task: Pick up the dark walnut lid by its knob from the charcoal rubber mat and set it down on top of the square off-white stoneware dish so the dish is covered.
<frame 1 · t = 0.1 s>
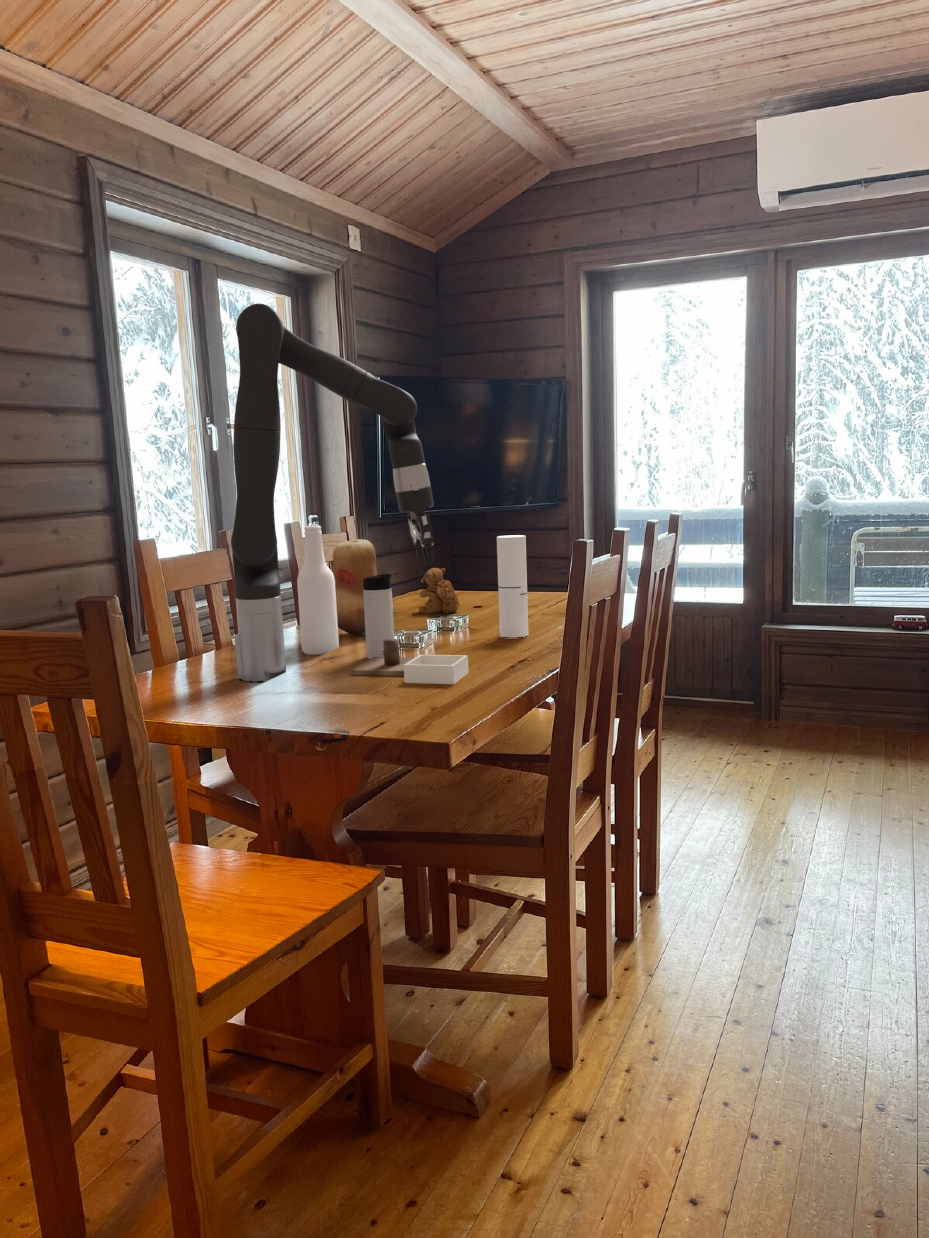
hand: (426, 562, 199), 22 cm above the table, tool pointing down, fingers open, 8 cm apart
alcohol: (320, 652, 222), on the table
lid: (392, 668, 192), point 1 cm above the table, touching mat
travel mug: (382, 663, 206), on the table
stuffed squirrel: (441, 612, 277), on the table
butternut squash: (359, 636, 242), on the table
dish: (437, 684, 182), on the table
cylindrical container: (514, 636, 233), on the table
mat: (392, 675, 192), on the table
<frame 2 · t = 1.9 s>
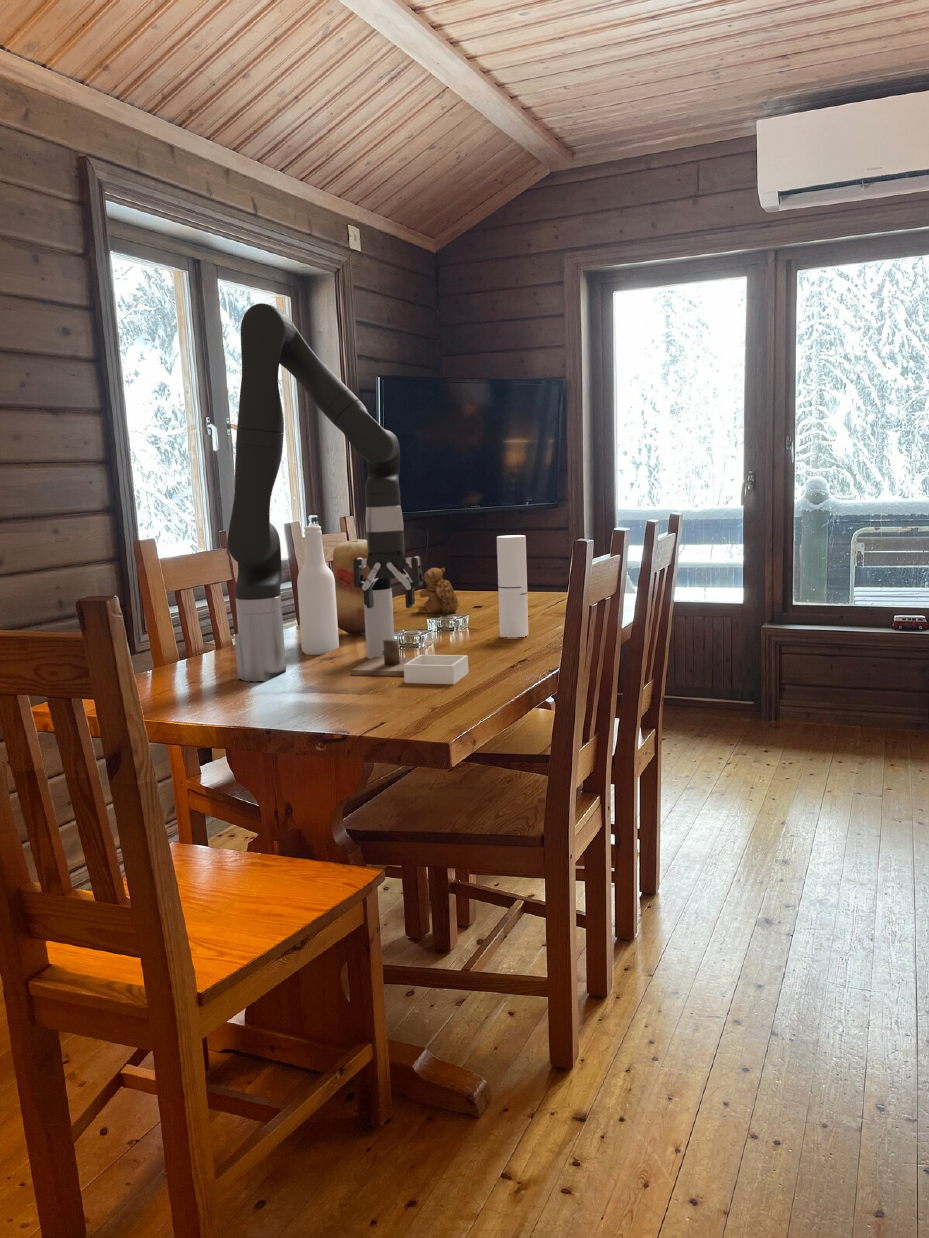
hand: (389, 607, 190), 14 cm above the table, tool pointing down, fingers open, 8 cm apart
nothing on the table moved.
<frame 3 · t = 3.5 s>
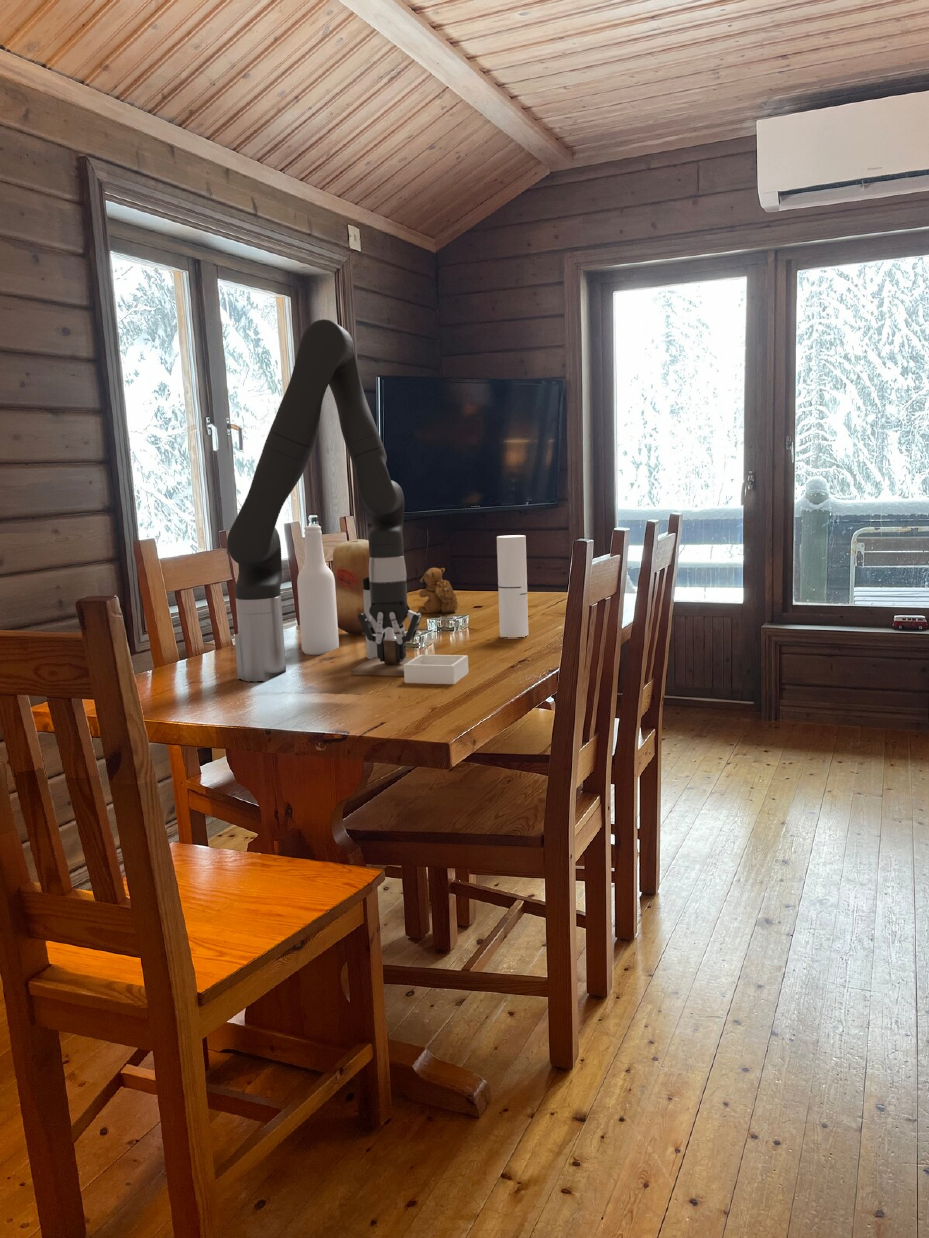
hand: (392, 660, 192), 3 cm above the table, tool pointing down, fingers closed on lid, 3 cm apart
lid: (392, 668, 192), point 1 cm above the table, touching gripper, mat
everything else where it was.
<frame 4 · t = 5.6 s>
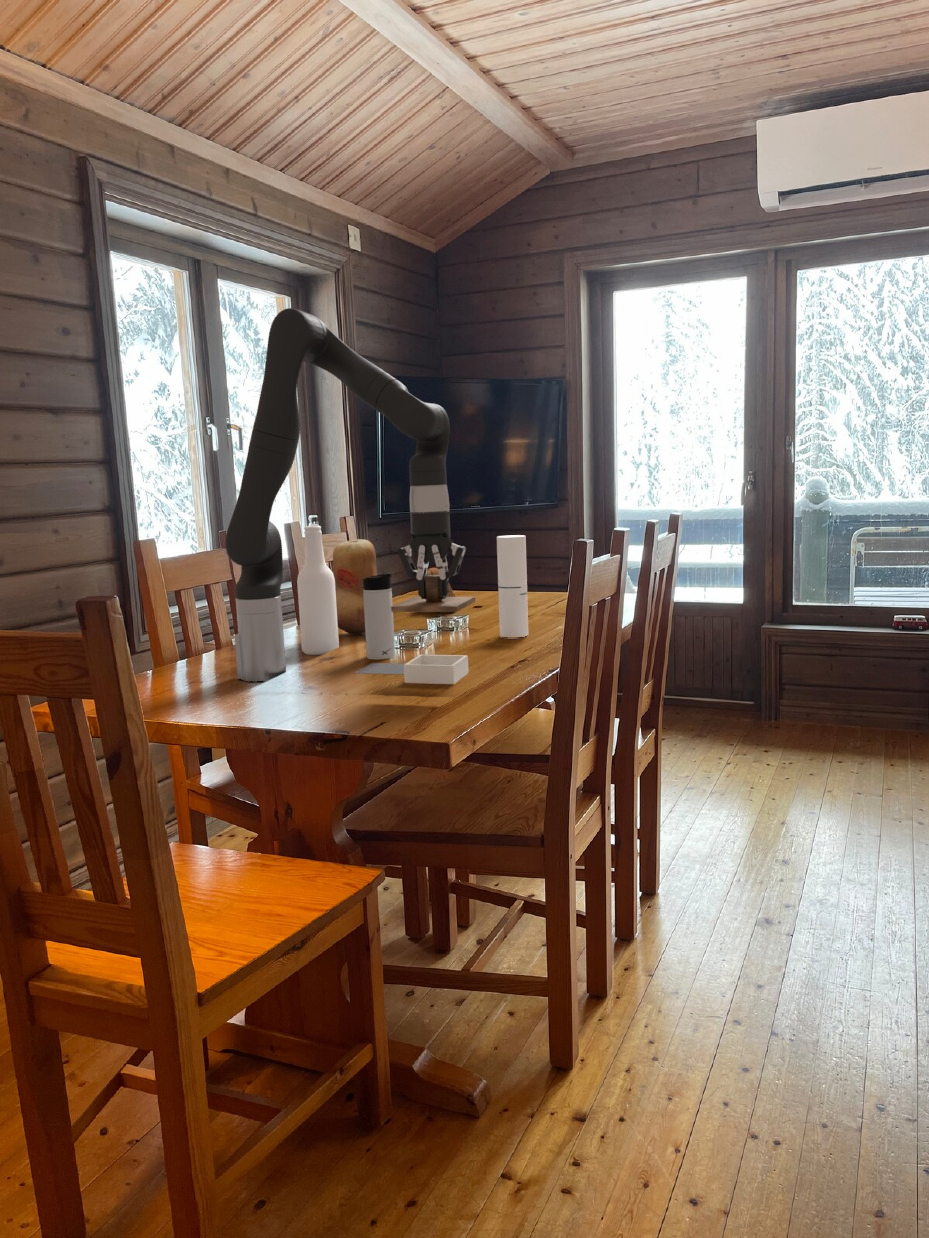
hand: (434, 598, 180), 17 cm above the table, tool pointing down, fingers closed on lid, 3 cm apart
lid: (434, 606, 180), point 16 cm above the table, touching gripper
everything else where it was.
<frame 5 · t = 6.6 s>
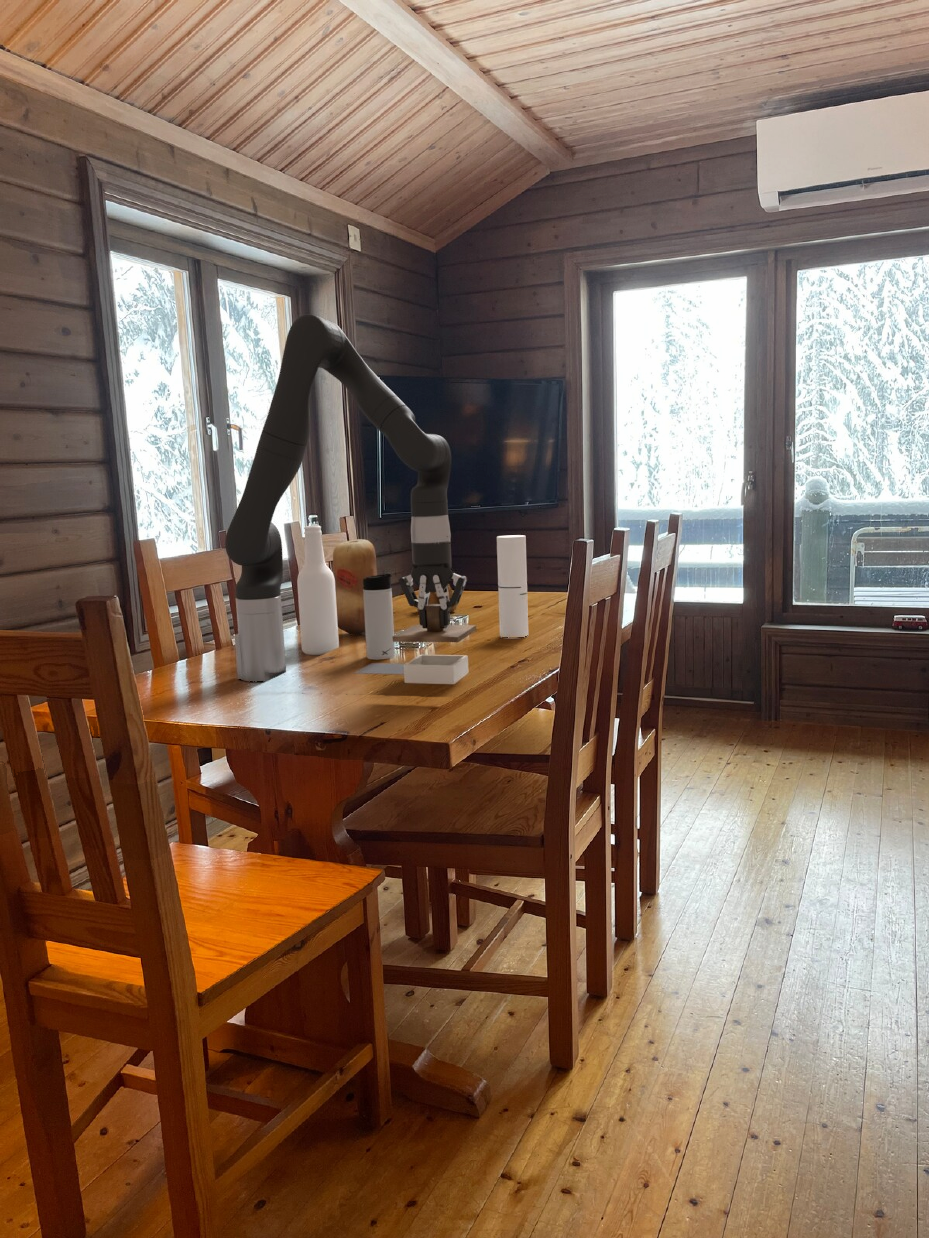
hand: (435, 627, 181), 11 cm above the table, tool pointing down, fingers closed on lid, 3 cm apart
lid: (435, 635, 181), point 10 cm above the table, touching gripper
everything else where it was.
when the fingers open (8 cm above the table, at t = 7.5 s): lid drops 1 cm, resting on dish.
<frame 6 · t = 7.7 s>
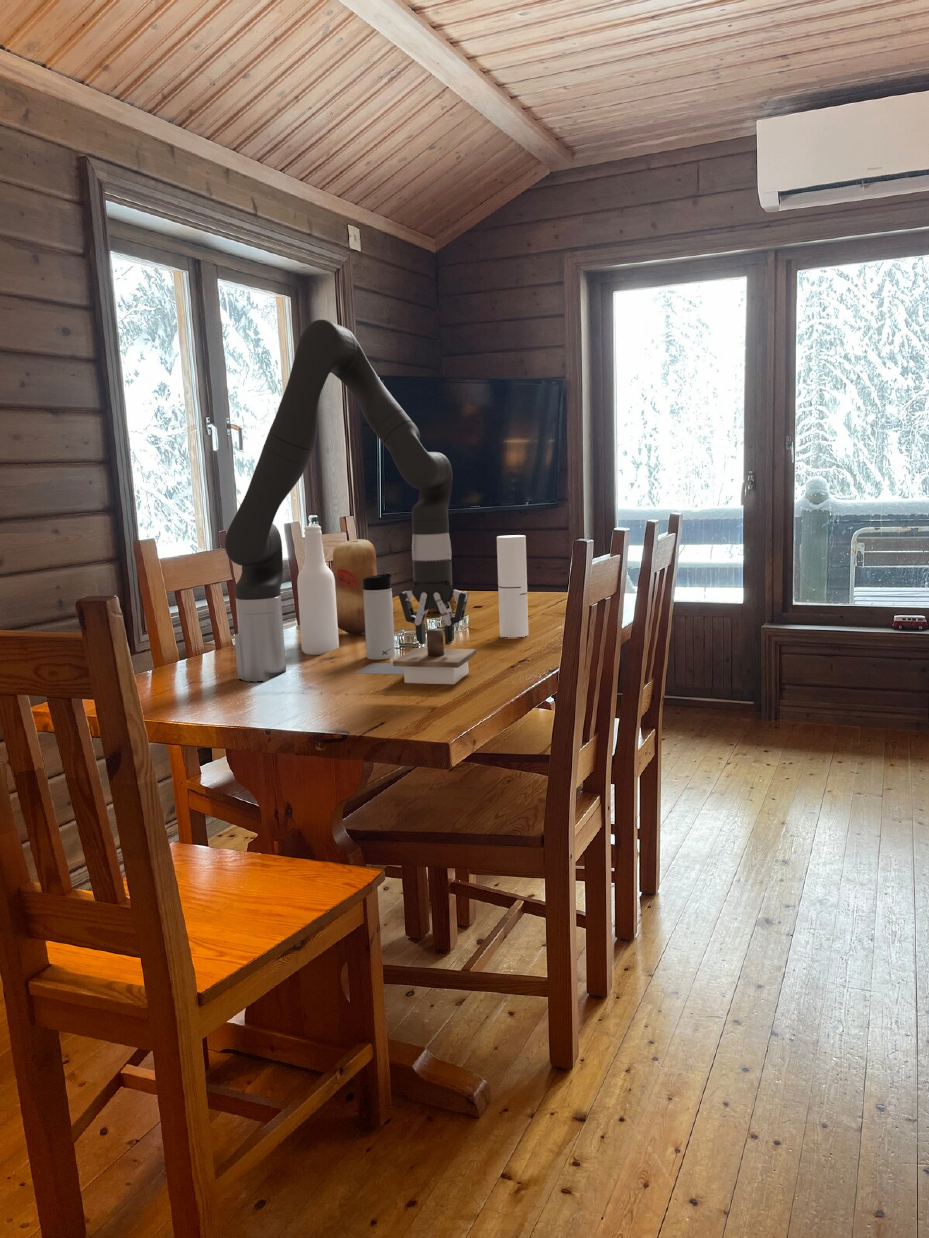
hand: (435, 643, 181), 8 cm above the table, tool pointing down, fingers open, 4 cm apart
lid: (436, 659, 182), point 5 cm above the table, touching dish
everything else where it was.
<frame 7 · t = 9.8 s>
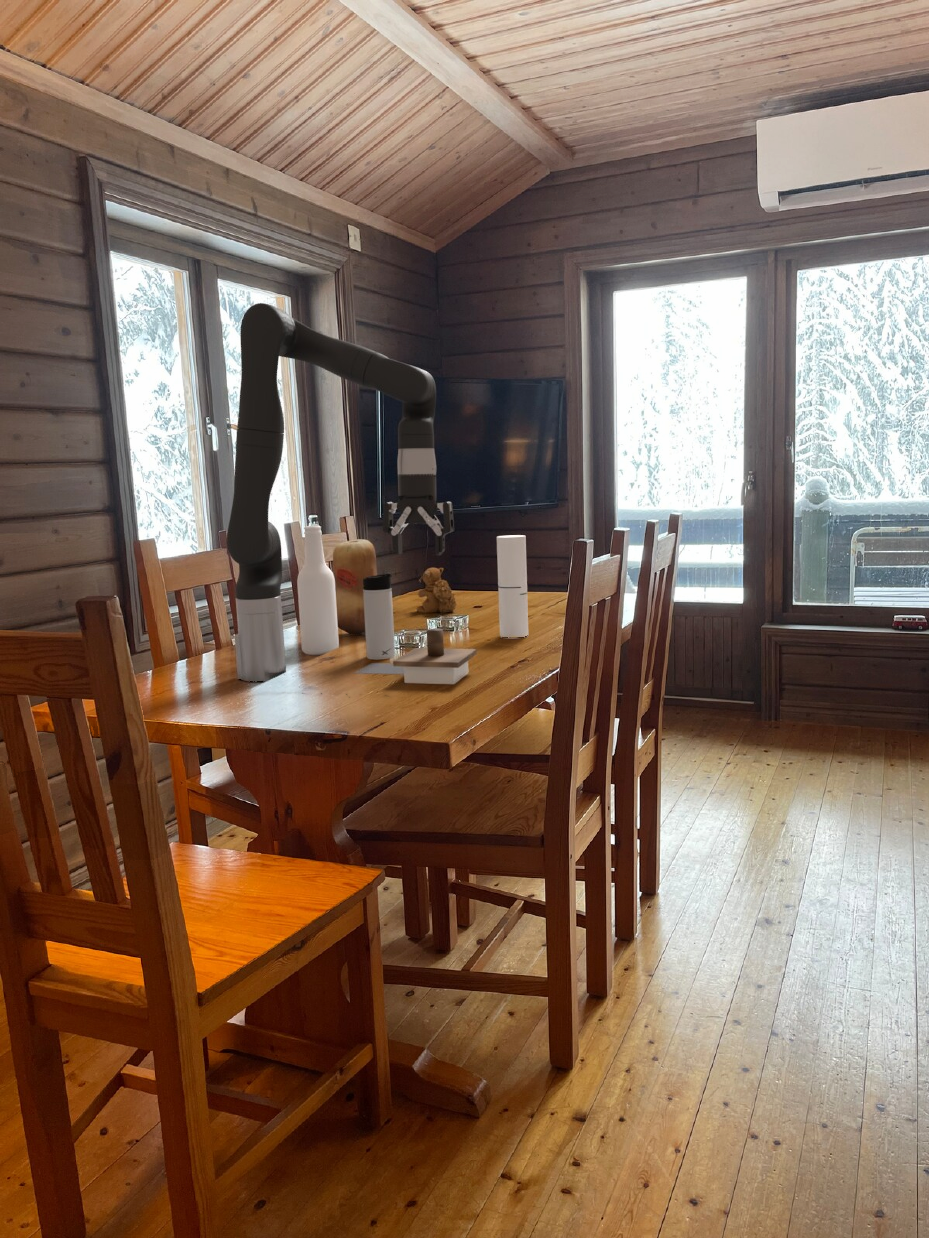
hand: (418, 554, 185), 25 cm above the table, tool pointing down, fingers open, 8 cm apart
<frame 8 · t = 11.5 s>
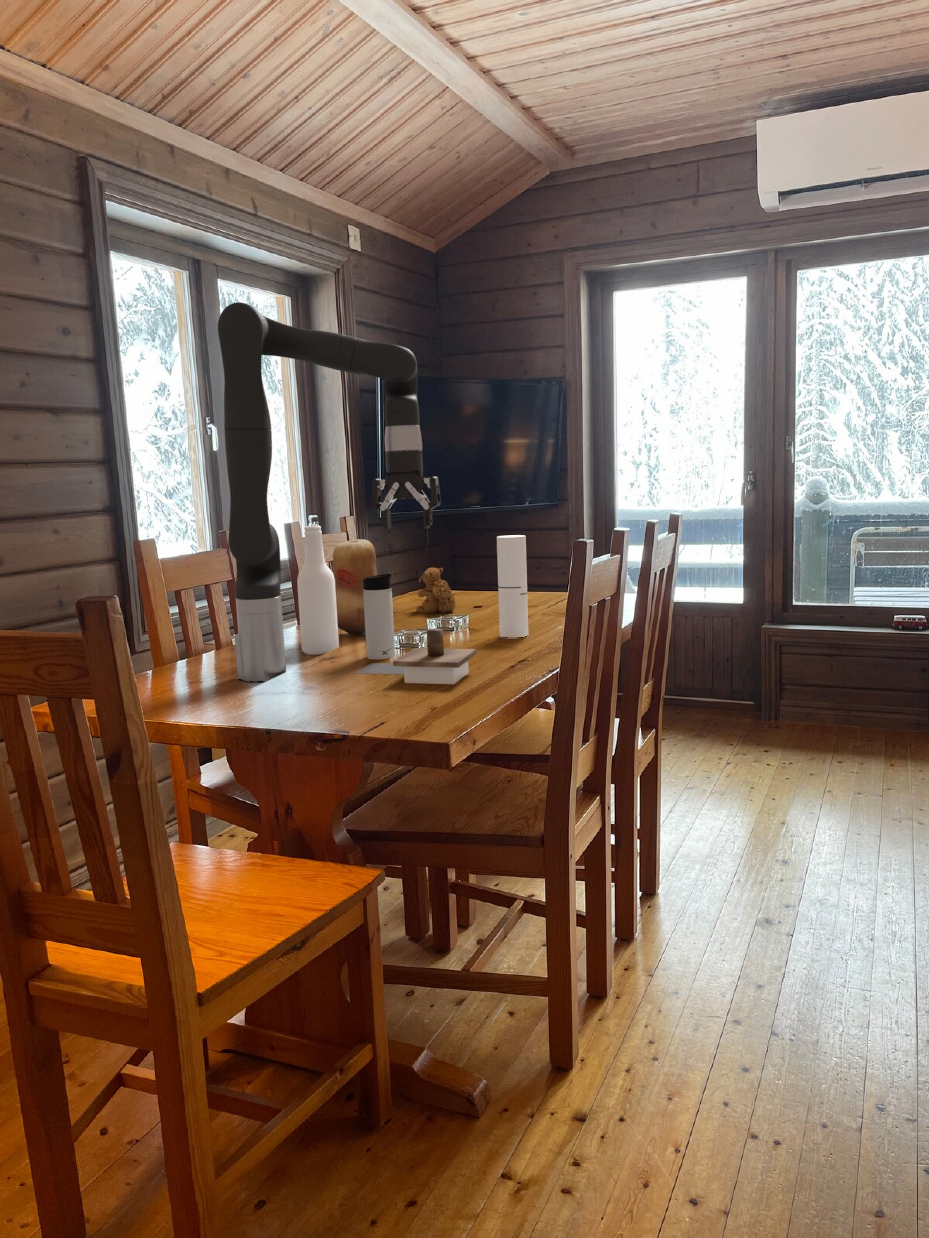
hand: (407, 528, 192), 30 cm above the table, tool pointing down, fingers open, 8 cm apart
at the end: lid 0.1 cm off-centre on the dish, point 5.0 cm above the dish's base; lid tilted 0°; the gripper is holding nothing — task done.
